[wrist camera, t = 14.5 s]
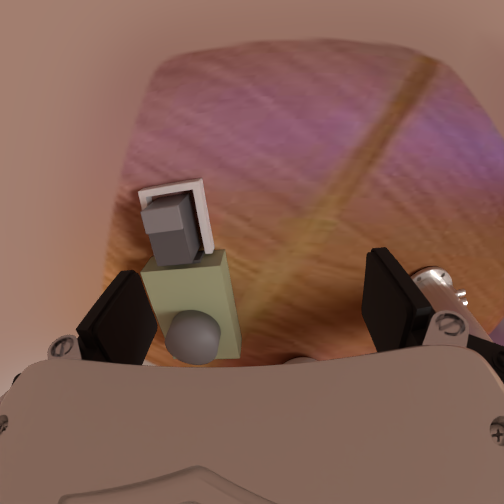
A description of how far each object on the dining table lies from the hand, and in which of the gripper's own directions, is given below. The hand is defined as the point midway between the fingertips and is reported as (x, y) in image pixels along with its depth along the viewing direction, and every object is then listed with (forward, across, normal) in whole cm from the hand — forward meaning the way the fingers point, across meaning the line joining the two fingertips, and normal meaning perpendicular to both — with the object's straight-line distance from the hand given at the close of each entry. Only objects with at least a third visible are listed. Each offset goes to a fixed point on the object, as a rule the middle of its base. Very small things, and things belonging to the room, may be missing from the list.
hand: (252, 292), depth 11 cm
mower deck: (+28, +12, +15) cm, 34 cm away
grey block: (+28, +12, +6) cm, 32 cm away
